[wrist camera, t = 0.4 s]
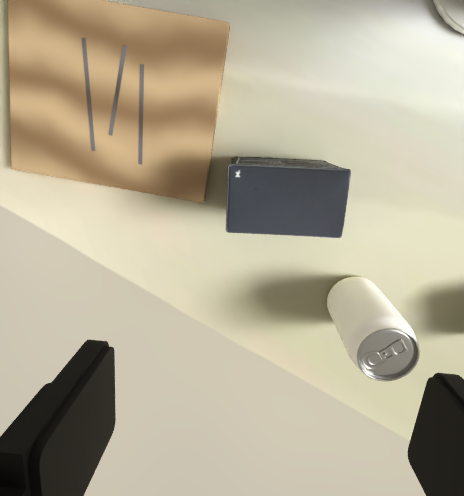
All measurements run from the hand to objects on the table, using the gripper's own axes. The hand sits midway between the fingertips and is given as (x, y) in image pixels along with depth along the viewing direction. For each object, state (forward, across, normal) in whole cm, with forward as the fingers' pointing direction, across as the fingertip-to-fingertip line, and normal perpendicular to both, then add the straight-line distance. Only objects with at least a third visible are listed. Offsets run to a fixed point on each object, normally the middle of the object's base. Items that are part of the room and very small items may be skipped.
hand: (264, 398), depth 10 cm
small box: (+32, -3, -3) cm, 32 cm away
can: (+32, -14, +10) cm, 36 cm away
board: (+32, +16, -10) cm, 37 cm away
